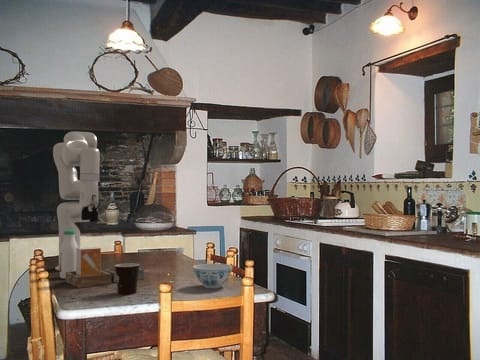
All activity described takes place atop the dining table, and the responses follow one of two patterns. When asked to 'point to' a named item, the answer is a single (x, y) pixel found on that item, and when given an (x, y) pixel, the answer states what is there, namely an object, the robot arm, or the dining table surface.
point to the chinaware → (212, 274)
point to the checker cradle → (113, 274)
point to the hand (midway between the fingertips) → (89, 220)
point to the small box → (88, 261)
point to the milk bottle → (68, 253)
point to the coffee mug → (127, 278)
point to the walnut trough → (88, 279)
